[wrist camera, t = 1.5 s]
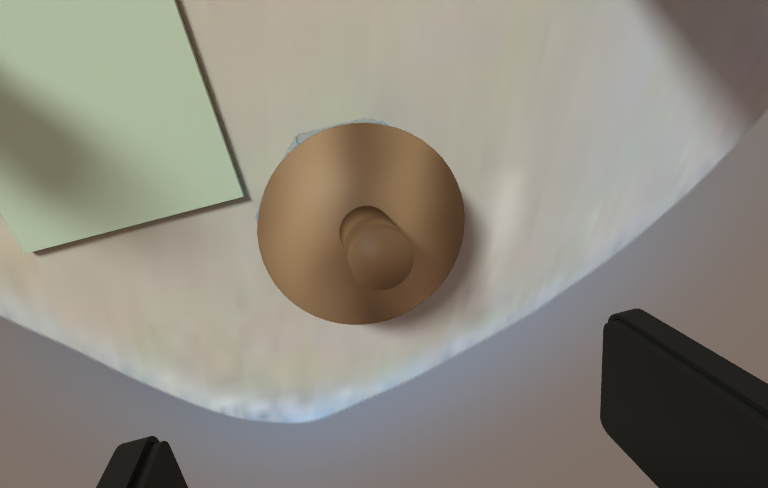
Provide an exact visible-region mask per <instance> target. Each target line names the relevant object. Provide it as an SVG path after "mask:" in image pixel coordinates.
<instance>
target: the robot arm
mask: <svg viewBox="0 0 768 488" xmlns="http://www.w3.org/2000/svg"><path fill="white" fill-rule="evenodd" d="M600 418H601V423H602V425H603V427H604V429H605V431H606V432H607V434H608V435H609V436H610V437H611V438H612V439H613V440H614V441H615V442H616V443H617V444H618V445H619V446H620V447H621V448H622V450H623V451H624V452H625V453H626V454H627V455H628V456H629V457H630V458H631V459H632V460H633V461H634V462H635V463H636V464H637V465H638V466H639V467H640V468H641V470H642V471H643V472H644V473H645V474H646V475H647V476H648V477H649V478H650V479H651V480H652V481H653V482H654V483H655V484H656V485H657V486H658V487H659V488H768V384H767V383H765V382H764V381H762V380H760V379H758V378H757V377H755V376H753V375H752V374H750V373H748V372H747V371H745V370H743V369H742V368H740V367H738V366H736V365H735V364H733V363H731V362H729V361H728V360H726V359H725V358H723V357H721V356H719V355H718V354H716V353H714V352H713V351H711V350H709V349H708V348H706V347H704V346H703V345H701V344H699V343H698V342H696V341H694V340H692V339H691V338H689V337H687V336H686V335H684V334H682V333H680V332H679V331H677V330H676V329H674V328H672V327H670V326H669V325H667V324H665V323H663V322H662V321H660V320H659V319H657V318H655V317H654V316H652V315H650V314H648V313H647V312H645V311H643V310H641V309H632V310H628V311H624V312H620V313H616V314H613V315H611V316H610V318H609V320H608V323H606V324H605V326H604V330H603V355H602V383H601V410H600ZM96 488H188V486H187V484H186V482H185V480H184V477H183V475H182V473H181V470H180V468H179V466H178V463H177V461H176V459H175V457H174V454H173V452H172V450H171V447H170V445H169V444H168V442H166V441H162V442H159V440H158V439H157V438H156V437H155V436H150V437H146V438H143V439H139V440H135V441H131V442H127V443H123V444H121V445H119V446H118V447H117V449H116V450H115V452H114V454H113V456H112V458H111V459H110V461H109V464H108V465H107V467H106V469H105V471H104V473H103V475H102V477H101V479H100V481H99V483H98V485H97V487H96Z"/></svg>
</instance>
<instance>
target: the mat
mask: <svg viewBox="0 0 768 488" xmlns="http://www.w3.org/2000/svg"><path fill="white" fill-rule="evenodd" d="M240 197H244V192H243V189H242V187H241V184H240V181H239V178H238V175H237V172H236V170H235V167H234V164H233V161H232V158H231V155H230V153H229V150H228V147H227V144H226V141H225V138H224V136H223V133H222V130H221V127H220V124H219V121H218V119H217V116H216V113H215V110H214V107H213V104H212V102H211V99H210V96H209V93H208V90H207V87H206V85H205V82H204V79H203V76H202V73H201V70H200V68H199V65H198V62H197V59H196V56H195V53H194V51H193V48H192V45H191V42H190V39H189V36H188V34H187V31H186V28H185V25H184V22H183V19H182V17H181V14H180V11H179V8H178V5H177V2H176V0H0V213H1V215H2V217H3V218H4V220H5V222H6V224H7V225H8V227H9V229H10V231H11V232H12V234H13V236H14V237H15V239H16V241H17V243H18V244H19V246H20V248H21V249H22V251H23V253H24V254H26V253H30V252H34V251H37V250H41V249H45V248H49V247H53V246H57V245H60V244H64V243H68V242H72V241H76V240H80V239H83V238H87V237H91V236H95V235H99V234H102V233H106V232H110V231H114V230H118V229H122V228H125V227H129V226H133V225H137V224H141V223H145V222H148V221H152V220H156V219H160V218H164V217H168V216H171V215H175V214H179V213H183V212H187V211H191V210H194V209H198V208H202V207H206V206H210V205H214V204H217V203H221V202H225V201H229V200H233V199H236V198H240Z"/></svg>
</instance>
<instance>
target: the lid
mask: <svg viewBox="0 0 768 488" xmlns="http://www.w3.org/2000/svg"><path fill="white" fill-rule="evenodd" d="M463 233H464V206H463V201H462V196H461V192H460V189H459V186H458V184H457V181H456V179H455V177H454V175H453V173H452V171H451V170H450V168H449V167H448V165H447V164H446V162H445V161H444V160H443V158H442V157H441V156H440V155H439V154H438V153H437V152H436V151H435V150H434V149H433V148H432V147H430V146H429V145H428V144H427V143H425V142H424V141H423V140H421V139H419V138H418V137H416V136H414V135H412V134H411V133H408V132H406V131H403V130H401V129H398V128H395V127H391V126H387V125H383V124H376V123H350V124H344V125H338V126H335V127H332V128H329V129H326V130H323V131H321V132H319V133H317V134H315V135H313V136H311V137H309V138H308V139H306V140H305V141H303V142H302V143H300V144H299V145H298V146H296V147H295V148H294V149H293V150H292V151H291V152H290V153H289V154H288V155H287V156H286V157H285V158H284V159H283V160H282V161H281V163H280V164H279V165H278V167H277V168H276V170H275V171H274V173H273V174H272V176H271V178H270V180H269V182H268V184H267V186H266V188H265V191H264V194H263V197H262V201H261V204H260V208H259V214H258V228H257V235H258V242H259V249H260V252H261V256H262V260H263V262H264V264H265V267H266V269H267V271H268V273H269V275H270V277H271V278H272V280H273V281H274V283H275V285H276V286H277V287H278V288H279V289H280V291H281V292H282V293H283V294H284V295H285V296H286V297H287V298H288V299H289V300H290V301H291V302H293V303H294V304H295V305H297V306H298V307H300V308H301V309H302V310H304V311H306V312H308V313H310V314H312V315H314V316H316V317H319V318H321V319H324V320H327V321H331V322H336V323H341V324H350V325H359V324H371V323H378V322H382V321H386V320H389V319H392V318H395V317H397V316H400V315H402V314H404V313H406V312H408V311H410V310H412V309H413V308H415V307H416V306H418V305H419V304H421V303H422V302H423V301H424V300H426V299H427V298H428V297H429V296H430V295H432V294H433V292H434V291H435V290H436V289H437V288H438V287H439V286H440V285H441V284H442V282H443V281H444V280H445V278H446V277H447V275H448V274H449V272H450V270H451V269H452V267H453V265H454V263H455V261H456V258H457V256H458V254H459V250H460V247H461V243H462V239H463Z"/></svg>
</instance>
